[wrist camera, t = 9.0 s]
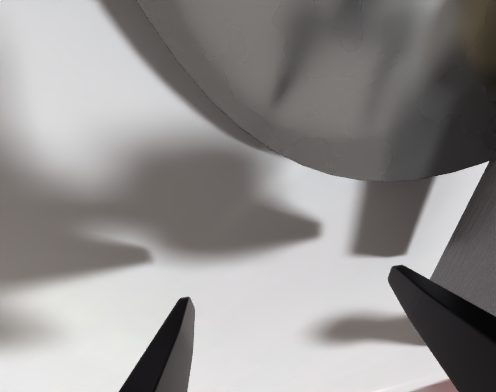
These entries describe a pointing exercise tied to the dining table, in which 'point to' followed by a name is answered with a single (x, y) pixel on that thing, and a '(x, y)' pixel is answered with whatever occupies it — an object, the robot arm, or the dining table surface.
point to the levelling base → (346, 78)
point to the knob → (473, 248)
